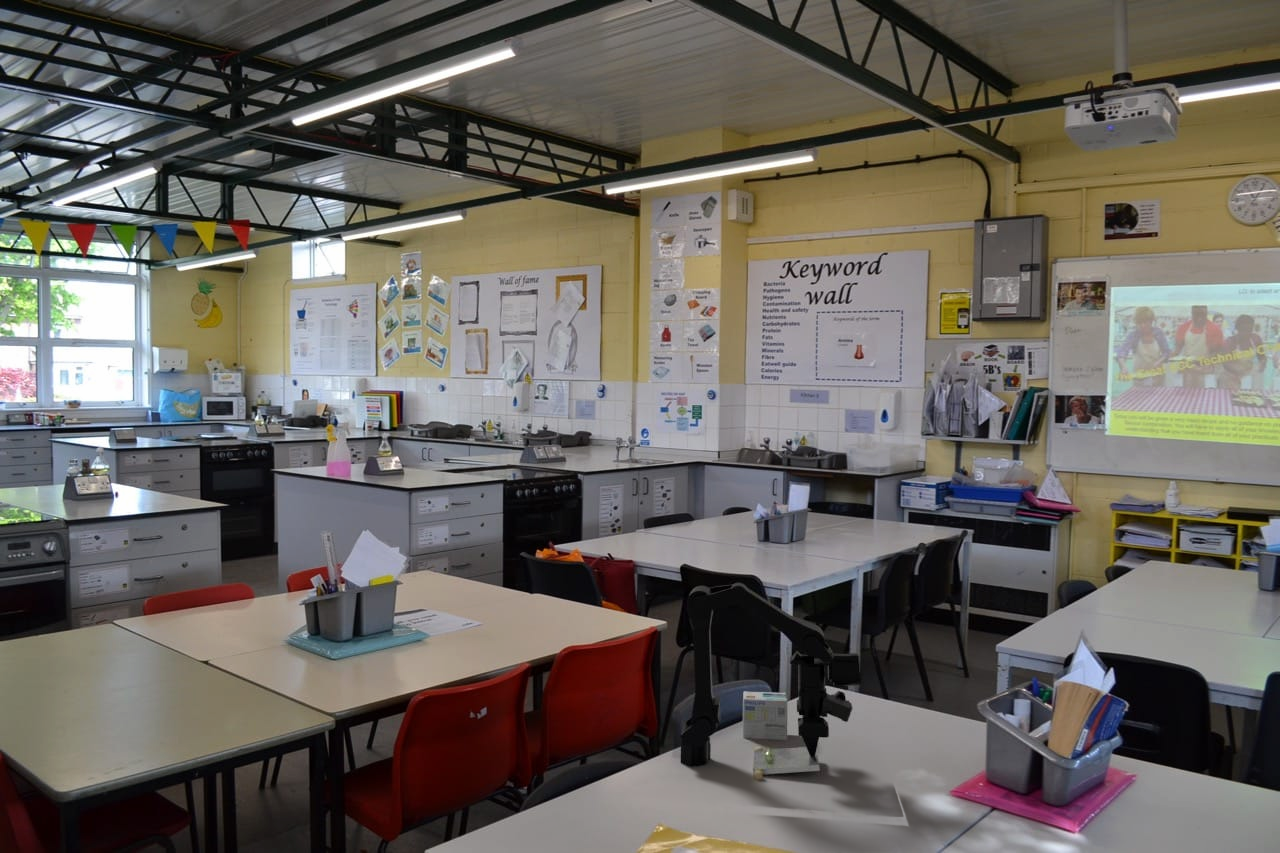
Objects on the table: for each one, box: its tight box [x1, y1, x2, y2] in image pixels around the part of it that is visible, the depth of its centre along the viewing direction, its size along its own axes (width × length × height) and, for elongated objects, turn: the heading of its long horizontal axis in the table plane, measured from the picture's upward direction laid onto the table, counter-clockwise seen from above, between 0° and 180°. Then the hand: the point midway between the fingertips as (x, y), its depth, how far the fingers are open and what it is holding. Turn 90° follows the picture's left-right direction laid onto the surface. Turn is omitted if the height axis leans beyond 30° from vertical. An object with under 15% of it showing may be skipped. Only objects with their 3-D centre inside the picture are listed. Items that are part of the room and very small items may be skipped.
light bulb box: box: [742, 690, 788, 741], centre depth 219 cm, size 11×7×11 cm, turn 84°
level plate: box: [752, 746, 821, 775], centre depth 199 cm, size 14×11×3 cm
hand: (812, 755), depth 198 cm, fingers closed, pressing on level plate
